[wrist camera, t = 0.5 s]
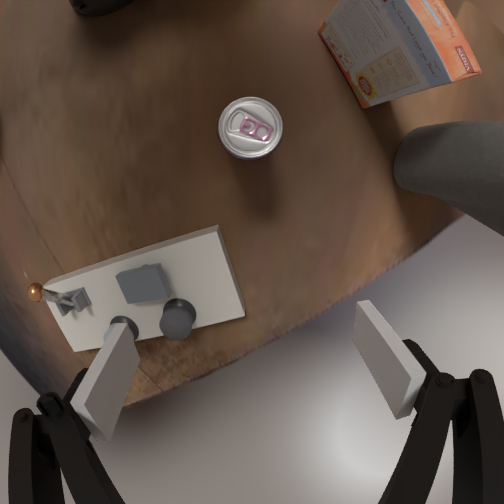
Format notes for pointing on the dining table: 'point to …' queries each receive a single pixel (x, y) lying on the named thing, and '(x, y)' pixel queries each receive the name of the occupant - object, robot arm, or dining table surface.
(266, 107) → the beverage can
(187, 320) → the button
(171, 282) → the console
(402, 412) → the robot arm
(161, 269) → the block
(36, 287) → the lever
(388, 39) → the cracker box
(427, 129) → the vase
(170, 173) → the dining table surface
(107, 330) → the button
